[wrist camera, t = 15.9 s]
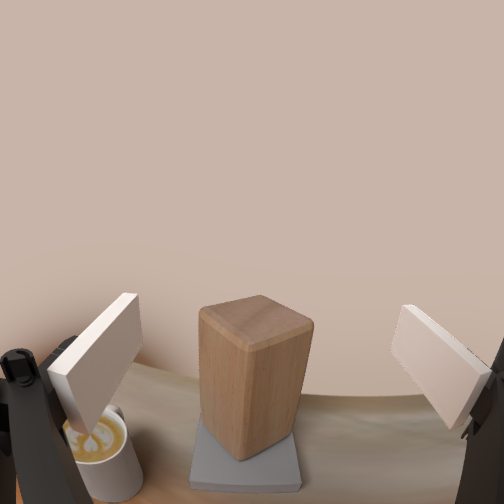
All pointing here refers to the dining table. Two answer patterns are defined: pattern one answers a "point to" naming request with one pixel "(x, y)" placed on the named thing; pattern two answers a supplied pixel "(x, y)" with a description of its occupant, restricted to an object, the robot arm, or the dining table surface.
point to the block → (251, 371)
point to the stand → (244, 467)
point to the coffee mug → (107, 458)
